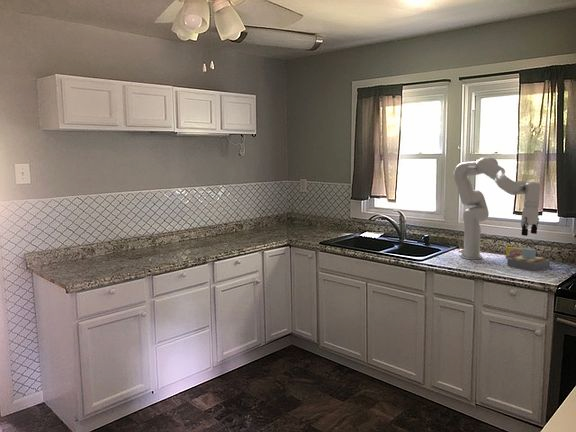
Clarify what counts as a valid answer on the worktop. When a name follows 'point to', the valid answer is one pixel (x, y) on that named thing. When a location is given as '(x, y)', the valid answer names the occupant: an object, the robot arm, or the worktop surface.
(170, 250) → the worktop surface
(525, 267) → the tote
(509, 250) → the candy box
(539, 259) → the maple block
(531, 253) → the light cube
